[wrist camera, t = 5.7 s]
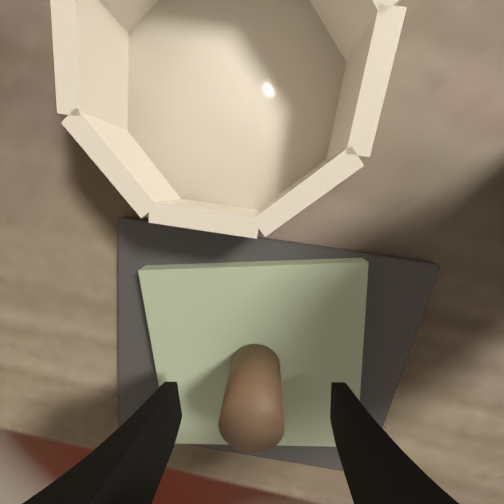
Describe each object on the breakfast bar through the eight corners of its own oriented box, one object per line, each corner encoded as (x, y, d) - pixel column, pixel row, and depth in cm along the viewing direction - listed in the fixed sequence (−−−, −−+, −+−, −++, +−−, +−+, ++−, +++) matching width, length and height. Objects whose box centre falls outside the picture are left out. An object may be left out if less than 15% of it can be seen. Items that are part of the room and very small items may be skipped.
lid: (362, 257, 12) (412, 293, 8) (352, 433, 15) (385, 530, 11) (145, 265, 13) (87, 302, 9) (174, 430, 15) (139, 519, 11)
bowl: (383, -32, 10) (445, -151, 6) (324, 234, 12) (346, 252, 9) (116, -64, 10) (38, -196, 7) (117, 204, 13) (62, 209, 9)
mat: (431, 262, 12) (439, 266, 12) (361, 464, 16) (365, 474, 15) (125, 216, 13) (118, 218, 12) (123, 423, 16) (118, 432, 16)
